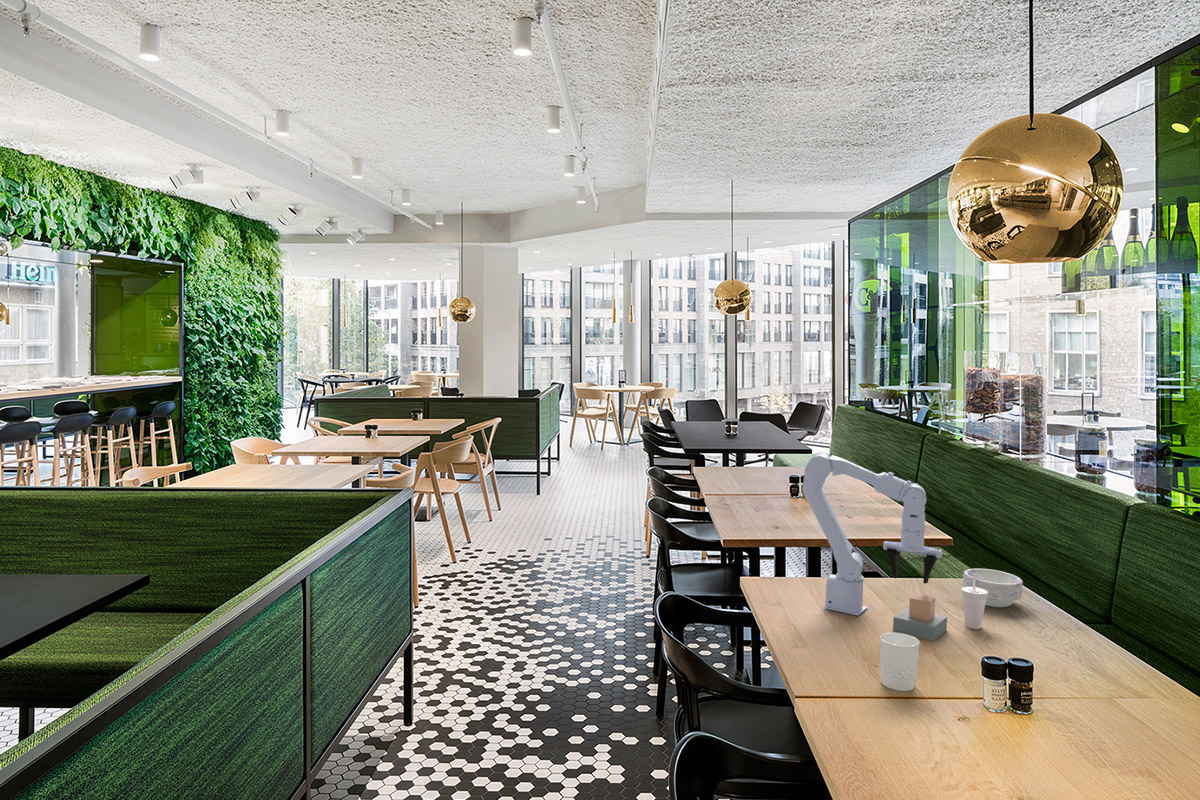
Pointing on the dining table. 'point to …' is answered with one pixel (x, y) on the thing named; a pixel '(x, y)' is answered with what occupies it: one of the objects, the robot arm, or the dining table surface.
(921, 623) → the slate plinth
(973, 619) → the smoothie
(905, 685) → the white cup
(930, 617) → the terracotta block
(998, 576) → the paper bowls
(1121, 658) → the dining table surface
